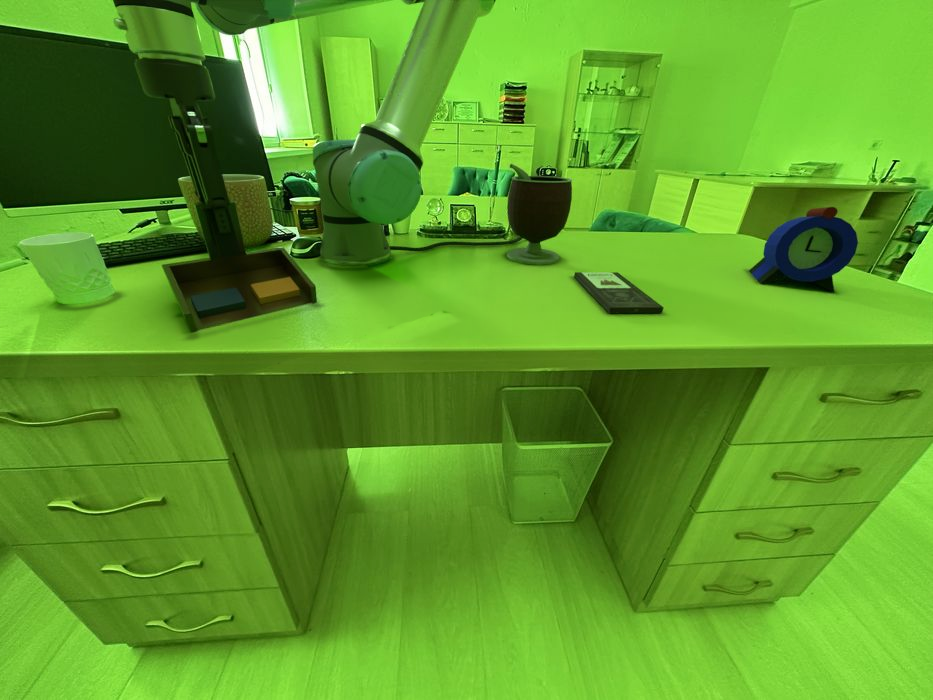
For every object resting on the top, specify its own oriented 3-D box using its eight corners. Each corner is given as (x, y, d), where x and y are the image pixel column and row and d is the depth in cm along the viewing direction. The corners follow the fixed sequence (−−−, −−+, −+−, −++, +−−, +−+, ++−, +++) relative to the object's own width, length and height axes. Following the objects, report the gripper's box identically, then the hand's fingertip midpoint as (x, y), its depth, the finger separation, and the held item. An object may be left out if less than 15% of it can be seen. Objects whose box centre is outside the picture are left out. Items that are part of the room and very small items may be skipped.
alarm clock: (761, 284, 74) (796, 205, 67) (746, 267, 84) (775, 197, 77) (836, 294, 70) (882, 211, 63) (811, 275, 80) (849, 202, 73)
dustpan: (285, 265, 66) (275, 196, 58) (317, 305, 60) (311, 234, 52) (169, 286, 56) (138, 206, 48) (192, 336, 50) (160, 254, 42)
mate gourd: (536, 247, 96) (546, 161, 86) (574, 260, 86) (591, 165, 76) (487, 254, 89) (491, 161, 79) (522, 270, 79) (532, 166, 69)
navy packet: (237, 293, 57) (236, 287, 56) (246, 307, 55) (244, 301, 54) (192, 302, 54) (189, 296, 53) (199, 318, 52) (197, 311, 51)
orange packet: (290, 282, 62) (289, 276, 61) (300, 295, 60) (299, 289, 59) (251, 290, 58) (250, 284, 57) (260, 304, 56) (259, 297, 55)
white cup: (47, 314, 55) (7, 247, 50) (66, 296, 61) (32, 234, 56) (114, 305, 58) (83, 241, 53) (126, 289, 64) (99, 230, 59)
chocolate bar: (610, 307, 59) (574, 272, 75) (608, 313, 60) (574, 276, 75) (663, 307, 60) (617, 272, 75) (662, 312, 60) (616, 276, 76)
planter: (224, 258, 81) (201, 183, 74) (187, 246, 89) (162, 177, 81) (293, 243, 94) (279, 177, 86) (255, 233, 102) (239, 173, 94)
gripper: (127, 61, 48) (190, 242, 60) (136, 49, 38) (210, 269, 50) (195, 69, 52) (241, 236, 65) (219, 59, 42) (268, 259, 54)
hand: (227, 250), depth 57 cm, fingers open, 3 cm apart
